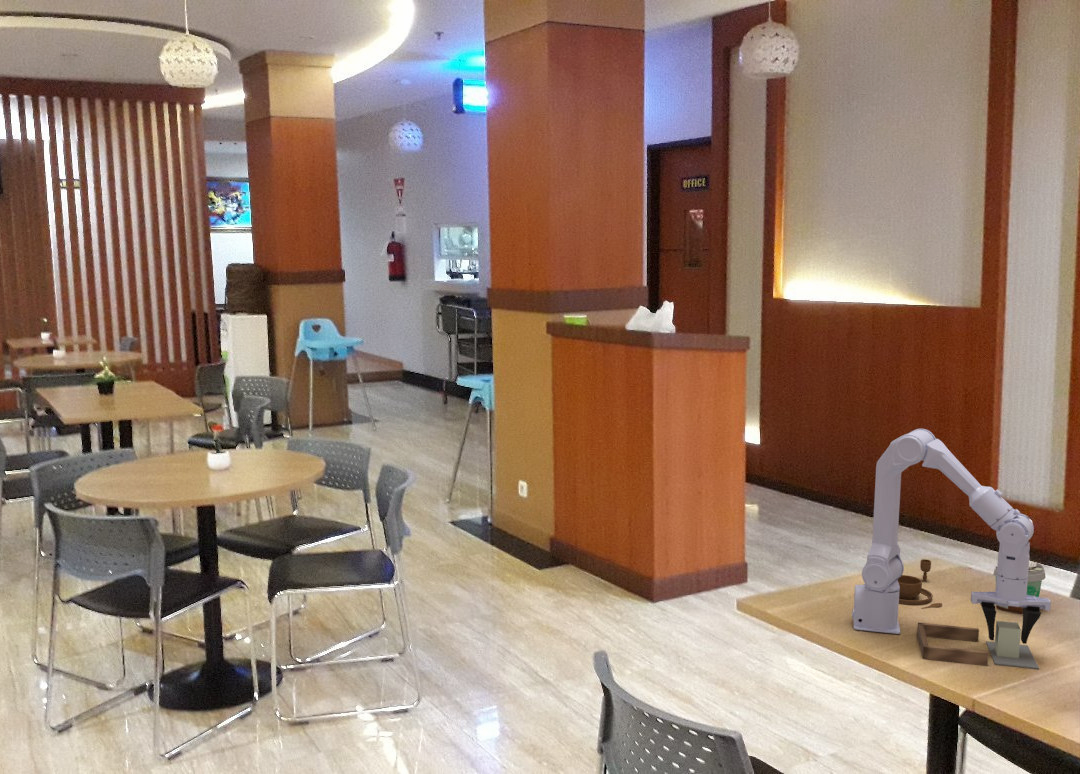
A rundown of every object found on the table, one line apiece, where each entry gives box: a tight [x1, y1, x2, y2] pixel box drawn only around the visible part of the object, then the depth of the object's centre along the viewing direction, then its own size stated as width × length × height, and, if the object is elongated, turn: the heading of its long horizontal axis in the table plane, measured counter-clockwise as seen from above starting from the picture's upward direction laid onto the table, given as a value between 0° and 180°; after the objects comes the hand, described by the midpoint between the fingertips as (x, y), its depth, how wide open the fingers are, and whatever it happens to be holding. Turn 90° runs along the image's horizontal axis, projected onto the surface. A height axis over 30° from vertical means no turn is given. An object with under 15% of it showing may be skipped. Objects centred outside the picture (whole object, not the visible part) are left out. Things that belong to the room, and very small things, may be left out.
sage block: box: [994, 620, 1022, 658], centre depth 208 cm, size 4×4×6 cm
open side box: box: [916, 622, 989, 666], centre depth 211 cm, size 12×14×2 cm
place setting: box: [898, 558, 943, 610], centre depth 244 cm, size 18×20×6 cm
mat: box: [985, 640, 1040, 670], centre depth 208 cm, size 8×12×1 cm, turn 165°
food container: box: [992, 562, 1046, 615], centre depth 233 cm, size 12×6×10 cm, turn 105°
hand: (1007, 640), depth 208 cm, fingers open, 5 cm apart
